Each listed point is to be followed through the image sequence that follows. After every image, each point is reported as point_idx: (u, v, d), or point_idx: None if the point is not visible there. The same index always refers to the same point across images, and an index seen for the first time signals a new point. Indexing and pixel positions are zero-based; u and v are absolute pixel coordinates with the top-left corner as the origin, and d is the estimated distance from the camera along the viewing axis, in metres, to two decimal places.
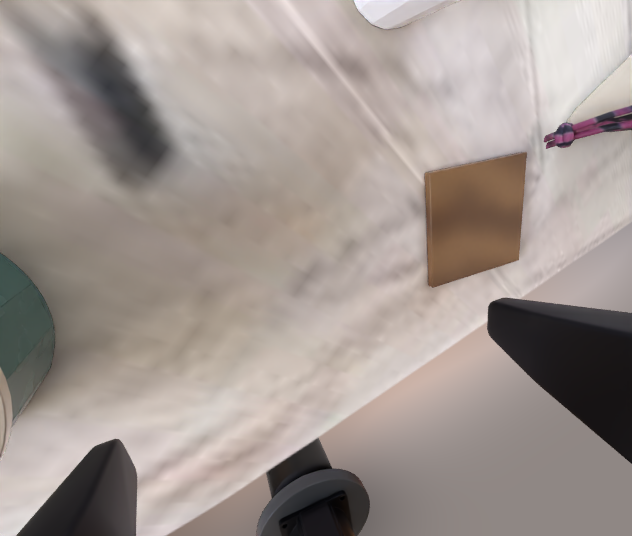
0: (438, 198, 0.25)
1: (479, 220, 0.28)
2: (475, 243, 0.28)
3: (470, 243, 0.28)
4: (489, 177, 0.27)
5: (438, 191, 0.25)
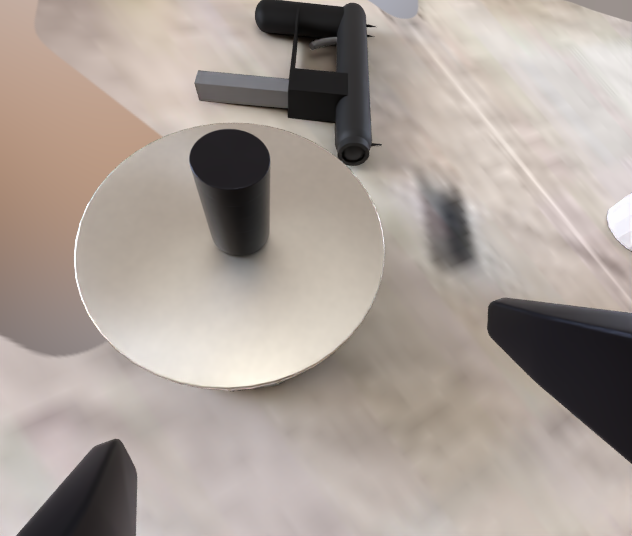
0: None
1: None
2: None
3: None
4: None
5: None
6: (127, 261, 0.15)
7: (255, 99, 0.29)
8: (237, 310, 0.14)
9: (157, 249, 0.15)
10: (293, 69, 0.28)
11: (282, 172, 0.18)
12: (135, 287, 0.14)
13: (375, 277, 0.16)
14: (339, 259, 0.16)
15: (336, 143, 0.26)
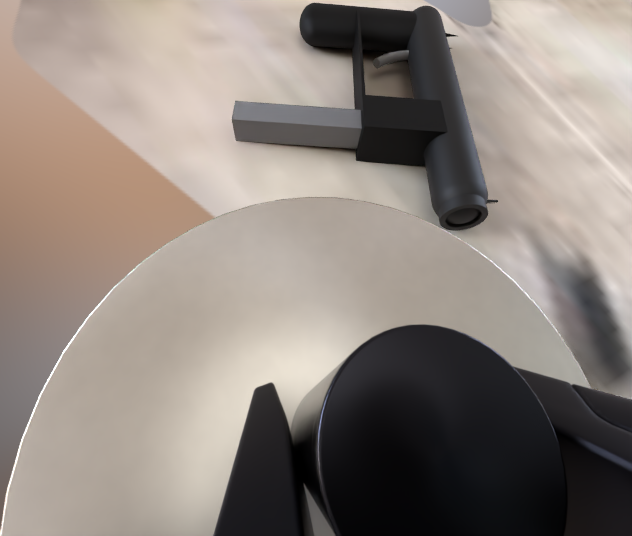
0: None
1: None
2: None
3: None
4: None
5: None
6: None
7: (313, 138, 0.21)
8: None
9: (182, 503, 0.07)
10: (366, 97, 0.20)
11: (404, 294, 0.10)
12: None
13: None
14: None
15: (438, 201, 0.19)
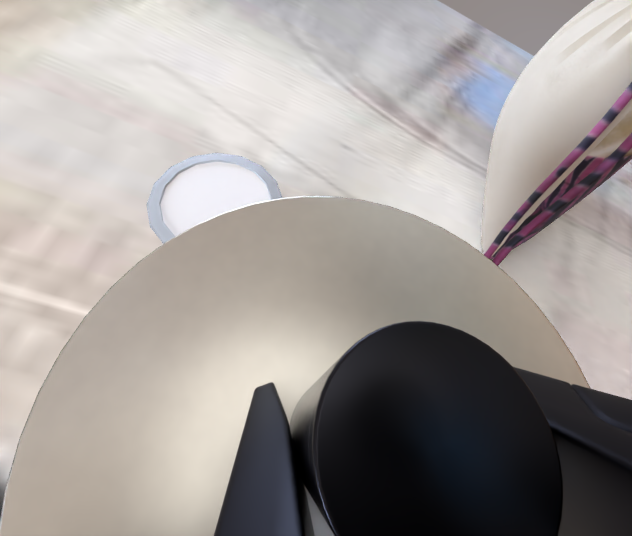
0: None
1: None
2: None
3: None
4: None
5: None
6: None
7: None
8: None
9: (181, 501, 0.07)
10: None
11: (402, 292, 0.10)
12: None
13: None
14: None
15: None
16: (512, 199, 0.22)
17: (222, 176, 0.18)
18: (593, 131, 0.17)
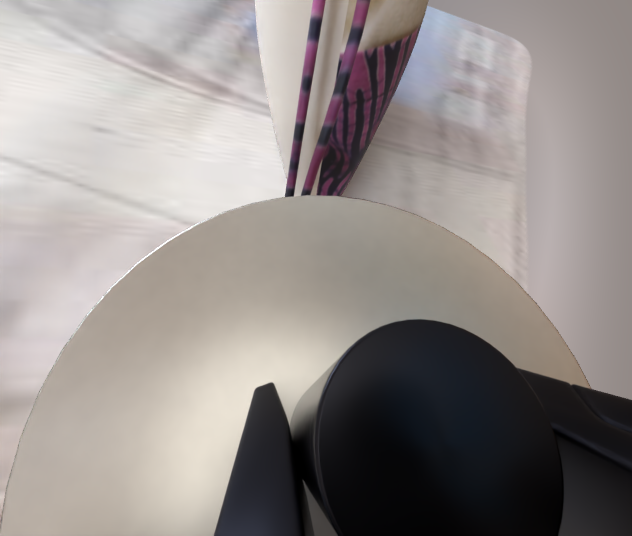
0: None
1: None
2: None
3: None
4: None
5: None
6: None
7: None
8: None
9: (182, 499, 0.07)
10: None
11: (403, 291, 0.10)
12: None
13: None
14: None
15: None
16: None
17: None
18: (312, 7, 0.11)
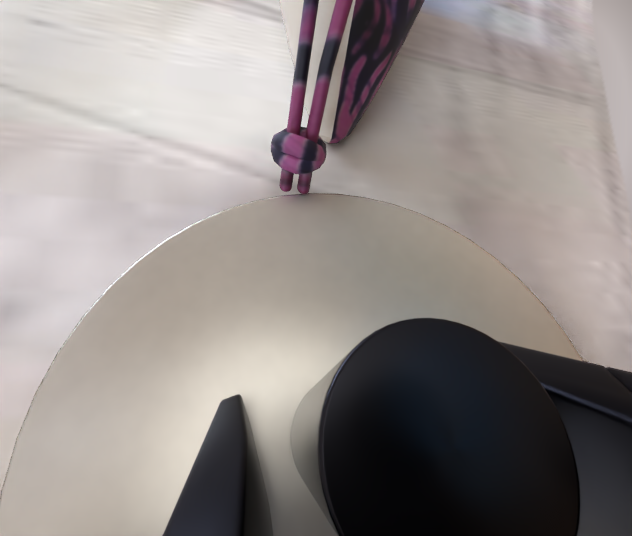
0: None
1: None
2: None
3: None
4: None
5: None
6: None
7: None
8: None
9: None
10: None
11: (406, 291, 0.10)
12: None
13: None
14: None
15: None
16: None
17: None
18: None
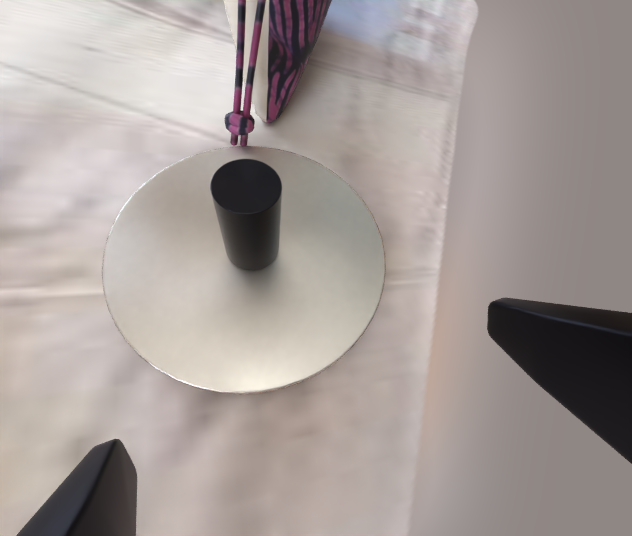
0: None
1: None
2: None
3: None
4: None
5: None
6: (149, 275, 0.16)
7: None
8: (249, 320, 0.16)
9: (176, 264, 0.16)
10: None
11: (291, 192, 0.19)
12: (157, 299, 0.16)
13: (376, 290, 0.17)
14: (343, 273, 0.17)
15: None
16: (244, 38, 0.20)
17: None
18: None
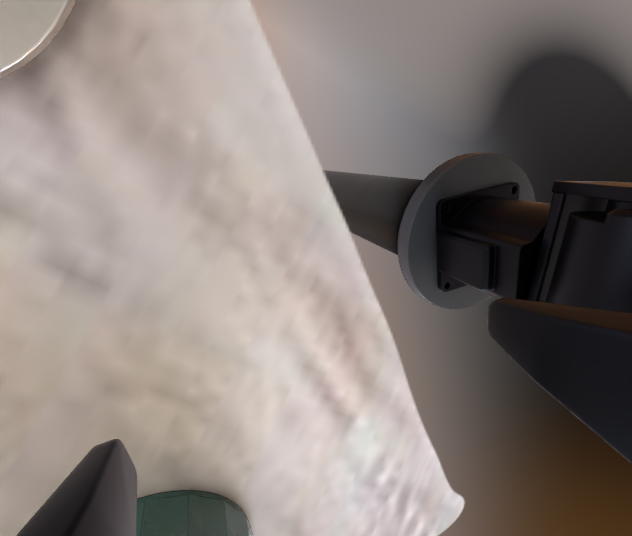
0: None
1: None
2: None
3: None
4: None
5: None
6: None
7: None
8: None
9: None
10: None
11: None
12: None
13: None
14: None
15: None
16: None
17: None
18: None
